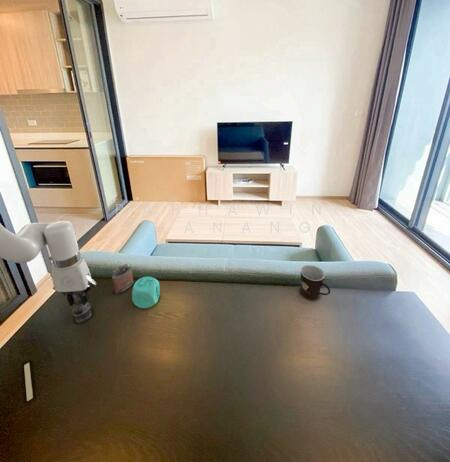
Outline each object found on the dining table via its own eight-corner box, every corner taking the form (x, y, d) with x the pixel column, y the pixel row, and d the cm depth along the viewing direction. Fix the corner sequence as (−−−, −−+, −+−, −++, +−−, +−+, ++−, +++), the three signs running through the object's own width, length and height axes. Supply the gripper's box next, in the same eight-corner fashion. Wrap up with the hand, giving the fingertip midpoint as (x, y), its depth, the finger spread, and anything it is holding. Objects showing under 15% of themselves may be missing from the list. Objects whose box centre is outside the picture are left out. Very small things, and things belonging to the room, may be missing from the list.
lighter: (130, 279, 104) (127, 260, 101) (135, 282, 102) (132, 263, 99) (113, 291, 98) (108, 271, 95) (118, 294, 96) (113, 274, 93)
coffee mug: (294, 286, 99) (297, 266, 96) (315, 284, 100) (318, 264, 97) (307, 309, 88) (310, 287, 85) (329, 307, 89) (333, 285, 86)
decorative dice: (155, 308, 90) (152, 291, 87) (133, 308, 90) (130, 291, 87) (160, 292, 97) (158, 276, 94) (140, 292, 97) (138, 276, 95)
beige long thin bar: (24, 365, 71) (24, 365, 71) (29, 362, 72) (29, 362, 72) (27, 401, 63) (27, 401, 63) (32, 397, 63) (32, 397, 63)
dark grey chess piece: (89, 306, 91) (82, 281, 87) (95, 316, 87) (88, 289, 83) (72, 316, 87) (63, 289, 83) (76, 326, 83) (68, 299, 79)
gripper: (32, 267, 74) (48, 313, 81) (88, 264, 75) (100, 309, 82) (46, 252, 81) (60, 295, 88) (98, 249, 82) (108, 292, 89)
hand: (79, 301), depth 85 cm, fingers closed on dark grey chess piece, 3 cm apart
